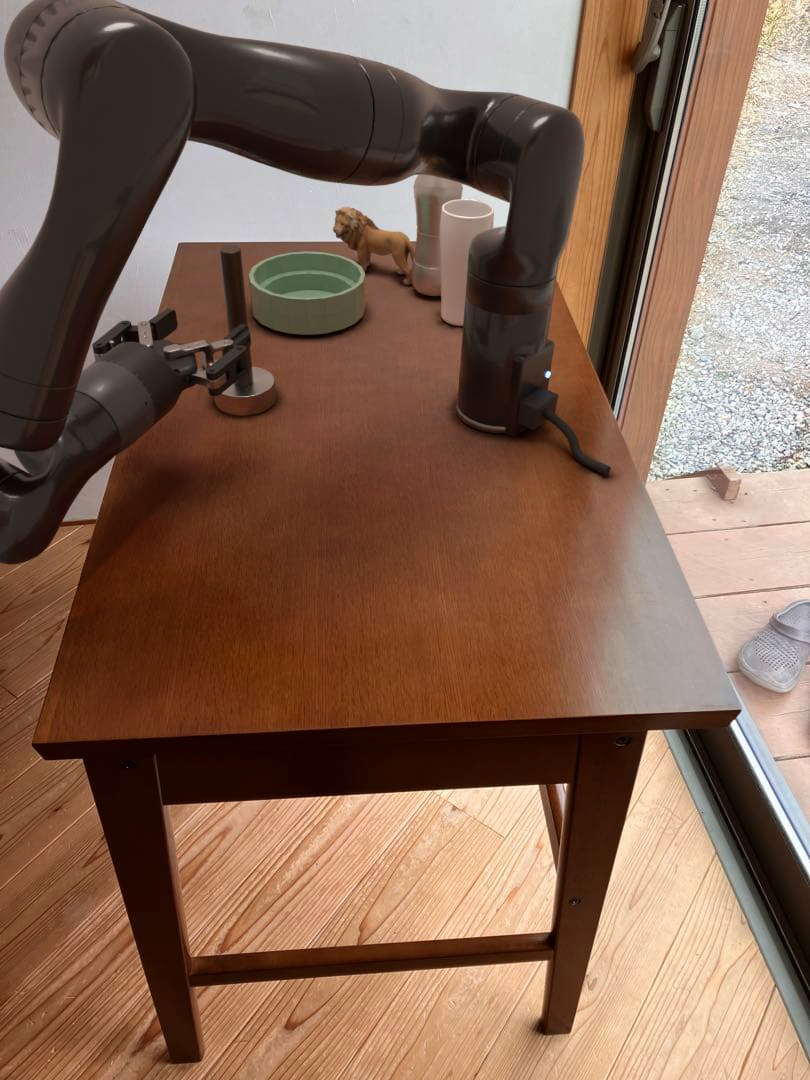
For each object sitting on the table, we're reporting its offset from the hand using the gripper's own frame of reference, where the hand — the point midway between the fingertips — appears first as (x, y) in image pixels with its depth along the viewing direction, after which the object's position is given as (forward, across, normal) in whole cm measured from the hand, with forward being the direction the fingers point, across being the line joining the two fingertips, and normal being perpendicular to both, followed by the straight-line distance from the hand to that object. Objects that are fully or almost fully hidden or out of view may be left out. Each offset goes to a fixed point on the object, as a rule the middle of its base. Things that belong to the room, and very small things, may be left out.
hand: (209, 325), depth 91 cm
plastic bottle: (+42, -10, +12) cm, 45 cm away
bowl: (+29, +3, +12) cm, 32 cm away
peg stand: (+6, 0, +12) cm, 13 cm away
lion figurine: (+45, 0, +12) cm, 46 cm away
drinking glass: (+36, -16, +12) cm, 41 cm away
